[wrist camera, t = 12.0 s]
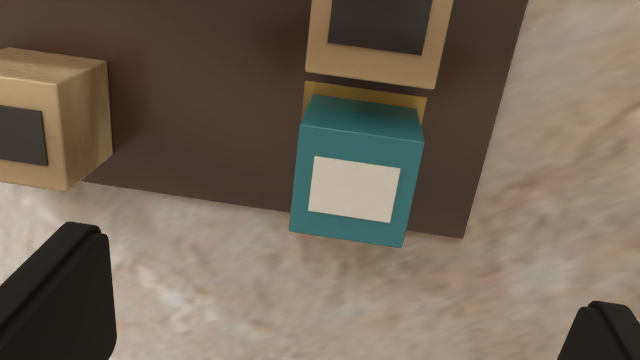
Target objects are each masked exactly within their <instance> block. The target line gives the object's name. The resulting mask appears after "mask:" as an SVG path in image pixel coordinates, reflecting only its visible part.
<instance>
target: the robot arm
mask: <svg viewBox="0 0 640 360" xmlns="http://www.w3.org/2000/svg"><path fill="white" fill-rule="evenodd" d="M116 339H117V332H116V320H115V308H114V296H113V285H112V273H111V261H110V250H109V240H108V237H107V235H105V234H101V230H100V228H99V227H98V226H96V225H90V224H83V223H76V222H66V223H65V224H63V225H62V226H61V227H60V228H59V229H58V230H57V231H56V232H55V233H54V234H53V235H52V236H51V237H50V238H49V239H48V240H47V241H46V242H45V243H44V244H43V245H42V246H41V247H40V248H39V249H38V250H37V251H35V252H34V253H33V254H32V255H31V256H30V257H29V258H28V259H27V260H26V261H25V262H24V263H23V264H22V265H21V266H20V267H19V268H18V269H17V270H16V271H15V272H14V273H13V274H12V275H11V276H10V277H9V278H8V279H7V280H6V281H5V282H4V283H3V284H2V285H1V286H0V360H108V359H109V358H110V356H111V354H112V352H113V350H114V347H115V344H116ZM557 360H640V324H639V322H638V321H637V319H636V317H635V316H634V314H633V313H632V311H631V310H630V309H629V308H628V307H627V306H625V305H621V304H615V303H608V302H601V301H592V302H591V303H590V304H589V305H588V307H581V308H580V309H579V310H578V312H577V314H576V317H575V319H574V321H573V324H572V326H571V328H570V331H569V333H568V335H567V338H566V340H565V342H564V345H563V347H562V349H561V351H560V354H559V356H558V358H557Z"/></svg>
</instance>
